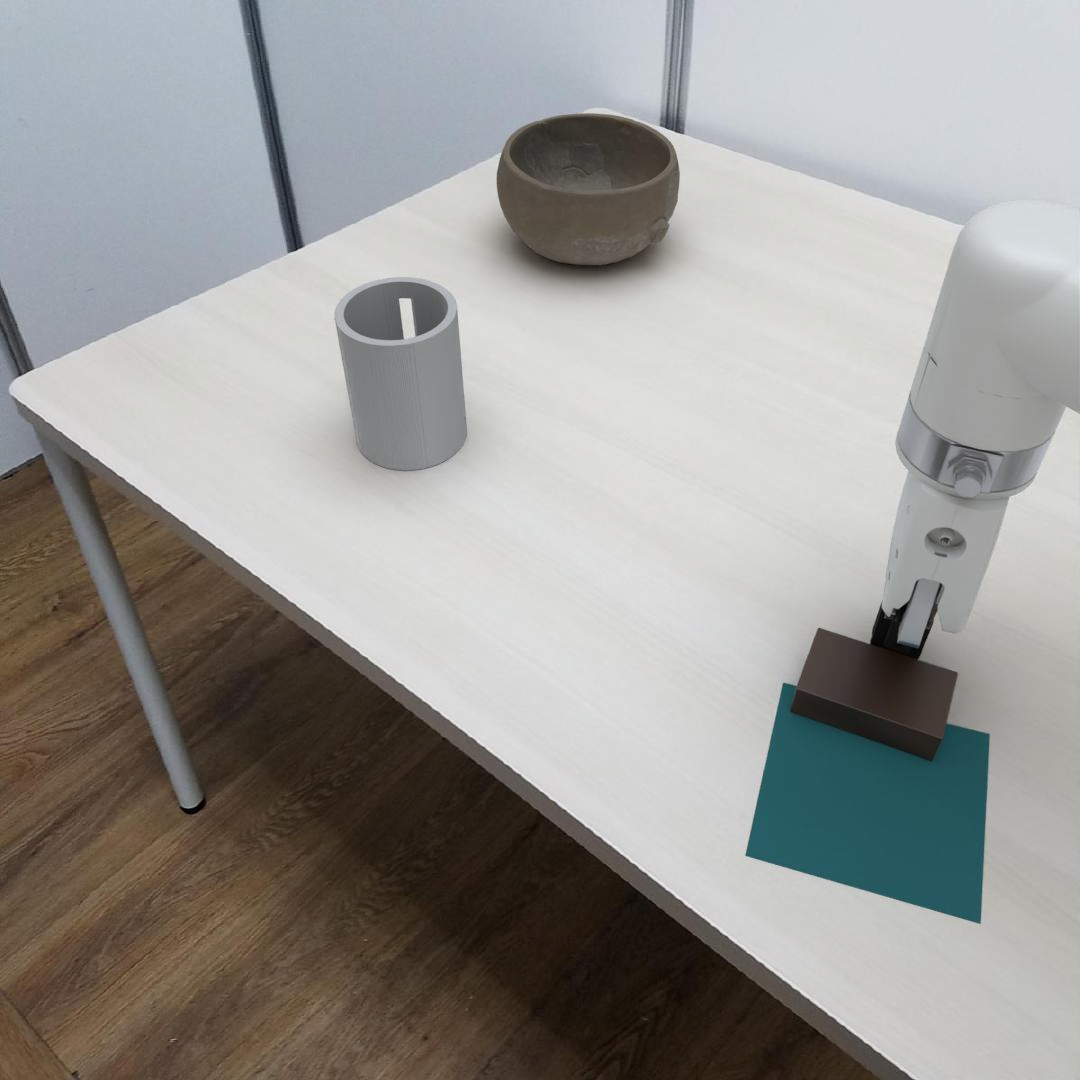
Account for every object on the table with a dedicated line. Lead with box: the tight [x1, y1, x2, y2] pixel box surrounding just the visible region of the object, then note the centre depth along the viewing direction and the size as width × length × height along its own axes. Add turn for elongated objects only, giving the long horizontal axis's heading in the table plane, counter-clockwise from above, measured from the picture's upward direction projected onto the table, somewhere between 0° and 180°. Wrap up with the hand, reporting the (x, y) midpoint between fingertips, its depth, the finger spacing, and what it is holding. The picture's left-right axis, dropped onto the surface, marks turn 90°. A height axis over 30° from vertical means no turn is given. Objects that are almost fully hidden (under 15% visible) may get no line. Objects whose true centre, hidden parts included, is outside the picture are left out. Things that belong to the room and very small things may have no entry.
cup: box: [333, 276, 468, 471], centre depth 84 cm, size 9×9×12 cm
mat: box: [745, 682, 991, 924], centre depth 64 cm, size 13×13×1 cm
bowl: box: [496, 112, 681, 266], centre depth 106 cm, size 17×18×10 cm
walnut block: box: [790, 627, 959, 761], centre depth 68 cm, size 9×6×2 cm, turn 65°
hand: (894, 646), depth 71 cm, fingers closed
